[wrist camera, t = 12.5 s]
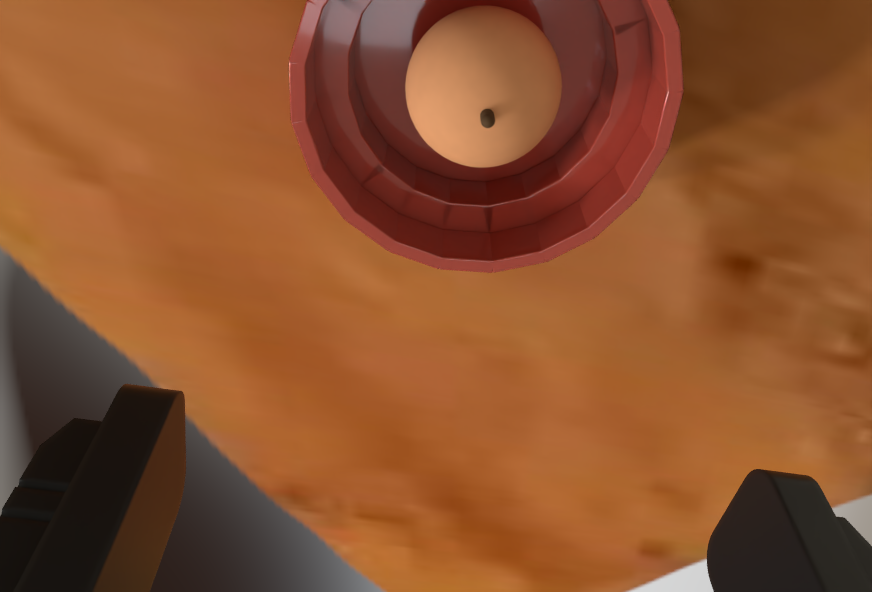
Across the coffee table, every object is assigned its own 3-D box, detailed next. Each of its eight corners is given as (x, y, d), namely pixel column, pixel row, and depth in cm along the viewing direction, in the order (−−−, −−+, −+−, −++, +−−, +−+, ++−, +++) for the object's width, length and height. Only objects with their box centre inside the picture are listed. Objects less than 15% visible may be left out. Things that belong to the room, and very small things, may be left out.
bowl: (247, 80, 33) (214, 128, 28) (464, -224, 27) (467, -227, 22) (489, 263, 38) (495, 328, 33) (719, 42, 32) (765, 85, 27)
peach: (379, 74, 32) (365, 133, 26) (473, -44, 29) (481, -7, 24) (484, 160, 34) (493, 232, 28) (581, 57, 31) (612, 113, 26)
